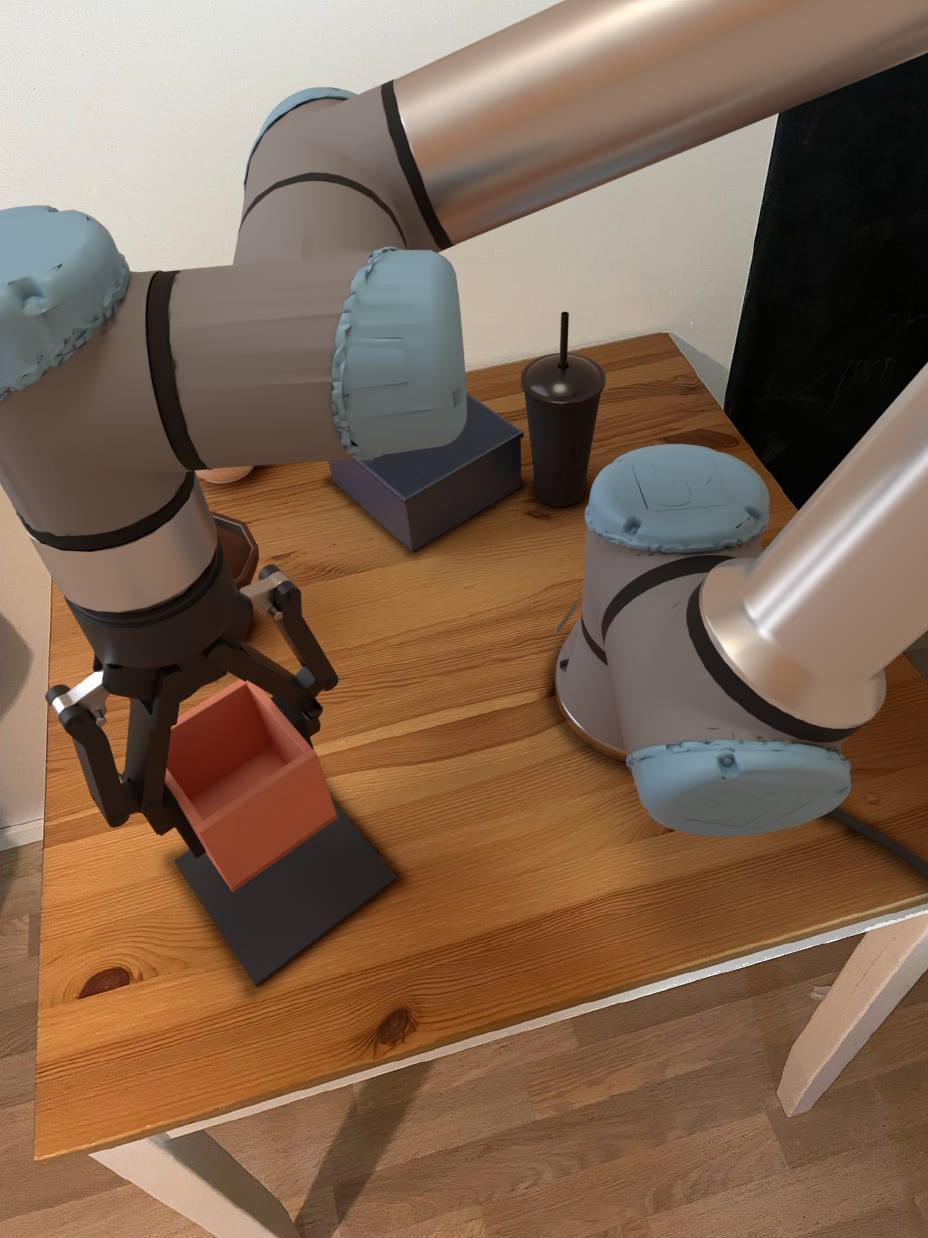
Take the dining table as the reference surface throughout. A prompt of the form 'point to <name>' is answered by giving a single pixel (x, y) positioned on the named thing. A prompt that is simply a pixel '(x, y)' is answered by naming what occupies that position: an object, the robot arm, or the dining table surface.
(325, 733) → the dining table surface
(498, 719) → the dining table surface
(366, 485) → the tin
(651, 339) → the dining table surface
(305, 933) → the mat
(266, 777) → the tub
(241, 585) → the ice cream bowl
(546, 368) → the drinking cup
